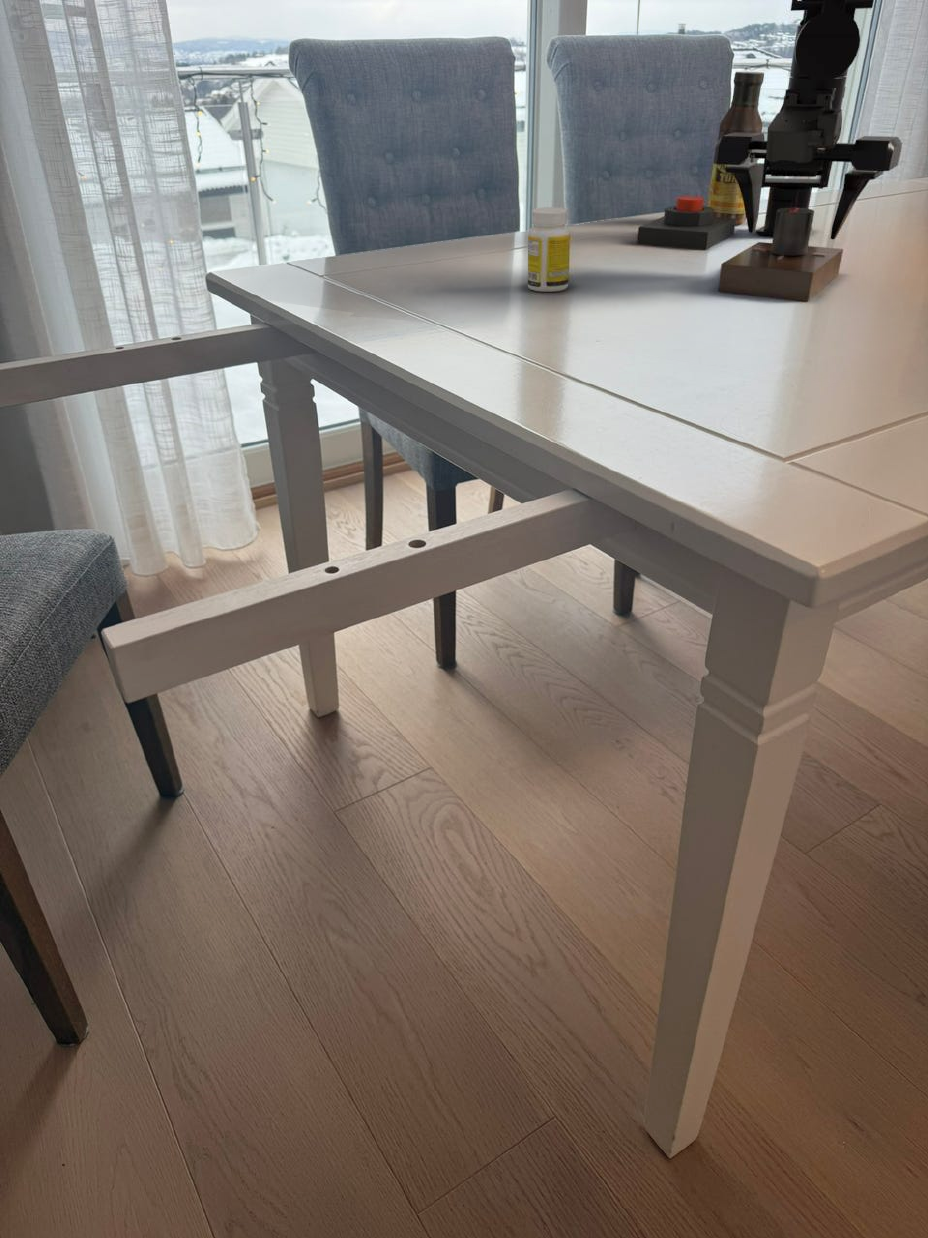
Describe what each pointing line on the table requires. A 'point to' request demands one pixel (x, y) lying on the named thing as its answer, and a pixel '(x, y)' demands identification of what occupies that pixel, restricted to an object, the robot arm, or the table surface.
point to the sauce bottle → (737, 120)
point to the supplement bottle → (548, 250)
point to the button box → (686, 229)
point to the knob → (792, 231)
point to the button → (689, 203)
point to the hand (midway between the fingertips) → (791, 235)
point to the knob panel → (780, 272)
